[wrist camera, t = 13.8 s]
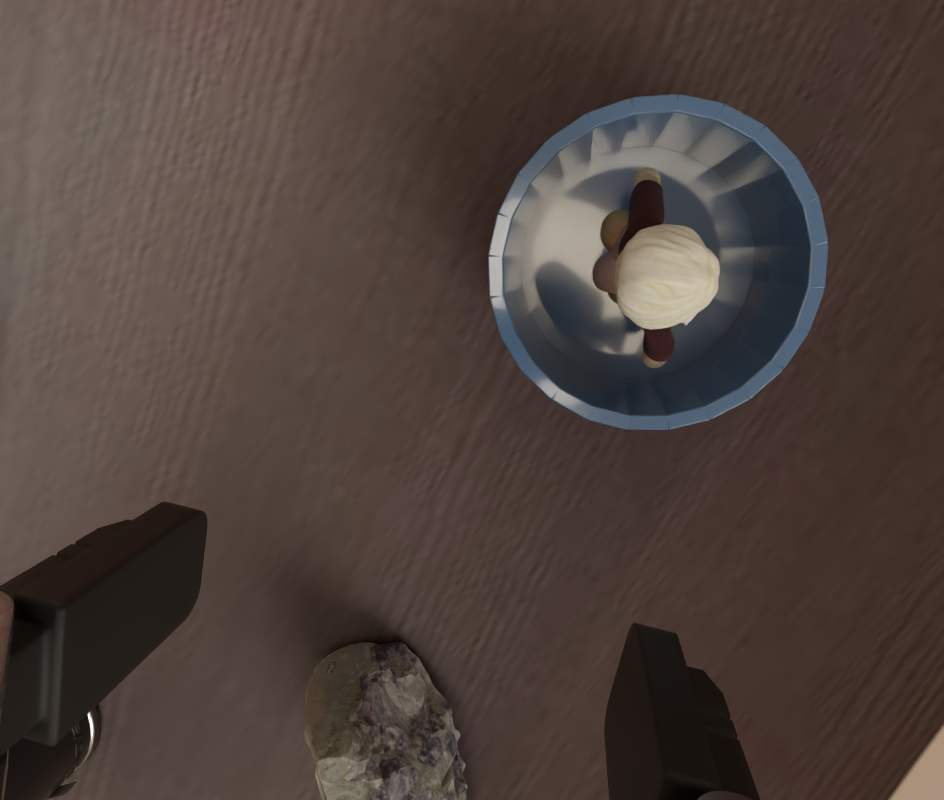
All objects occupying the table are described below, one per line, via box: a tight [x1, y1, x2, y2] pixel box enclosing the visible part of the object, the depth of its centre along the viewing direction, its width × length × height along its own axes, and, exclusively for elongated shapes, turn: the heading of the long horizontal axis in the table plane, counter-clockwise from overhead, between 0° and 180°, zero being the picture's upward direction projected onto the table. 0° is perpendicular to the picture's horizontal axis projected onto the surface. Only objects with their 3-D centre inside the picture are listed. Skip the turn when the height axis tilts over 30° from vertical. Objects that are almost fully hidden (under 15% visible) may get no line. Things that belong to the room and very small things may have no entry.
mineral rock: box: [304, 642, 468, 800], centre depth 36 cm, size 13×11×10 cm
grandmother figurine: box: [593, 167, 720, 368], centre depth 26 cm, size 8×4×13 cm, turn 18°
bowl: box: [488, 94, 828, 430], centre depth 28 cm, size 12×12×8 cm
